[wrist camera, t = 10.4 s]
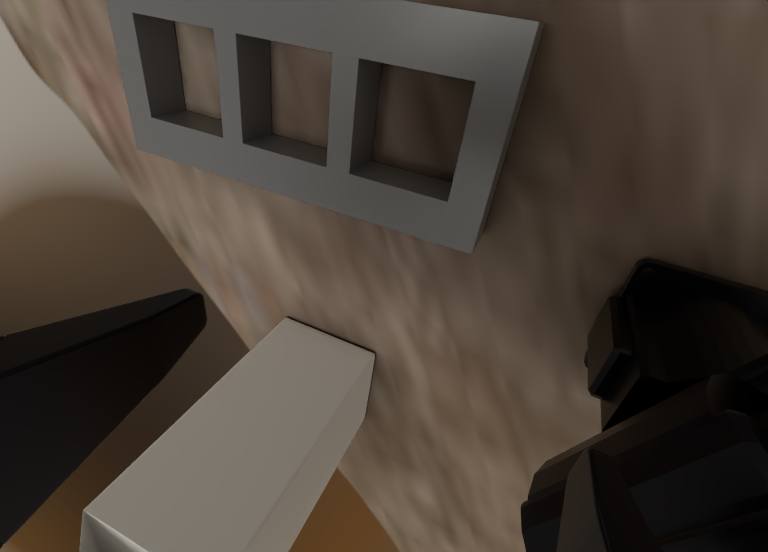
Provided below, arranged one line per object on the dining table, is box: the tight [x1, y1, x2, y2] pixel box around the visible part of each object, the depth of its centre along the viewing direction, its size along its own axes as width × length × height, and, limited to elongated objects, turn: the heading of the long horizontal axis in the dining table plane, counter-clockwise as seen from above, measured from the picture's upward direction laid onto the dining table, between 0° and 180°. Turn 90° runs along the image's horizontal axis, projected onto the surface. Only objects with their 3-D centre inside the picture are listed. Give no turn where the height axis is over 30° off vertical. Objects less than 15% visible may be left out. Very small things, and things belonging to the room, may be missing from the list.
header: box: [106, 0, 545, 255], centre depth 19 cm, size 20×9×2 cm, turn 82°
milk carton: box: [79, 318, 375, 552], centre depth 23 cm, size 7×7×19 cm
